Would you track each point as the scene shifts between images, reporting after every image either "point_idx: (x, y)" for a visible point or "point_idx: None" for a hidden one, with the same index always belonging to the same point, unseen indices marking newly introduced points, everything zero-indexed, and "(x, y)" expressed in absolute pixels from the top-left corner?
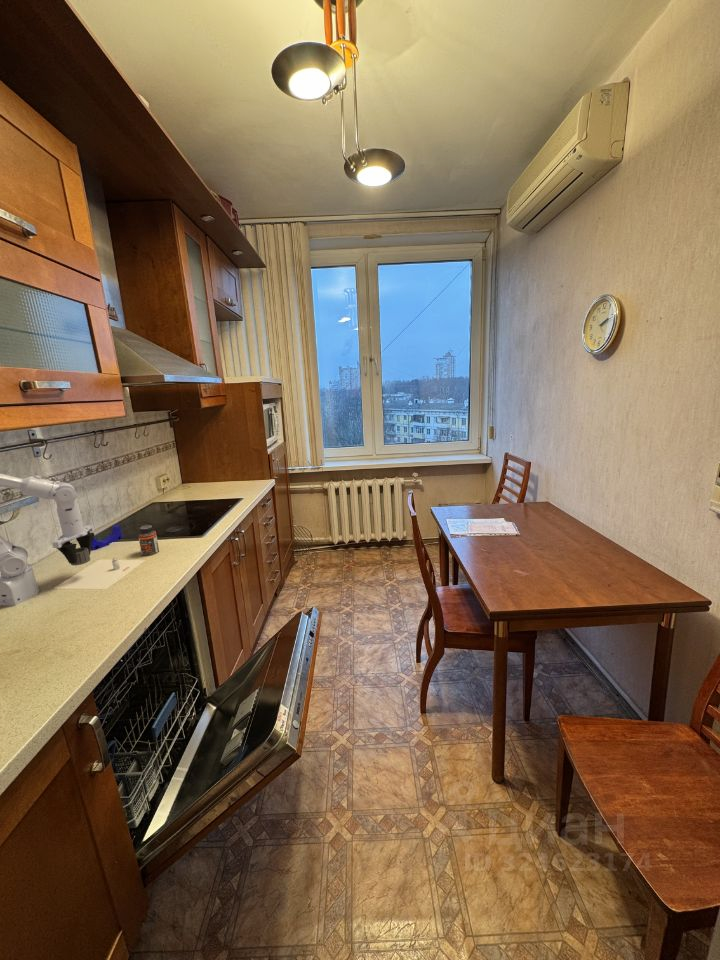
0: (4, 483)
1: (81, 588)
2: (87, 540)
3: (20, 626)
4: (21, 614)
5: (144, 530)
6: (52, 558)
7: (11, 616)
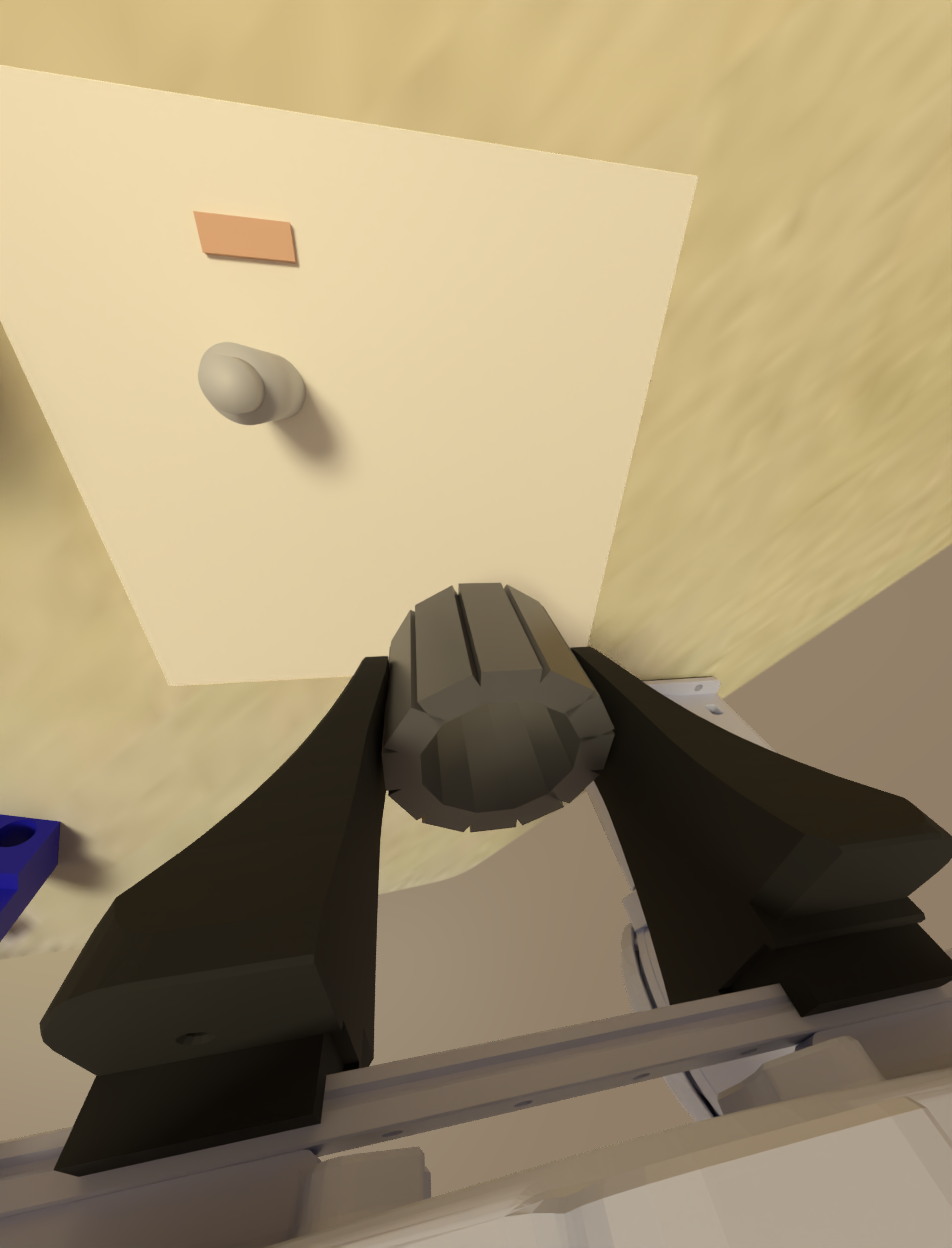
0: None
1: (622, 475)
2: (355, 842)
3: (916, 534)
4: (786, 620)
5: None
6: None
7: (785, 648)
